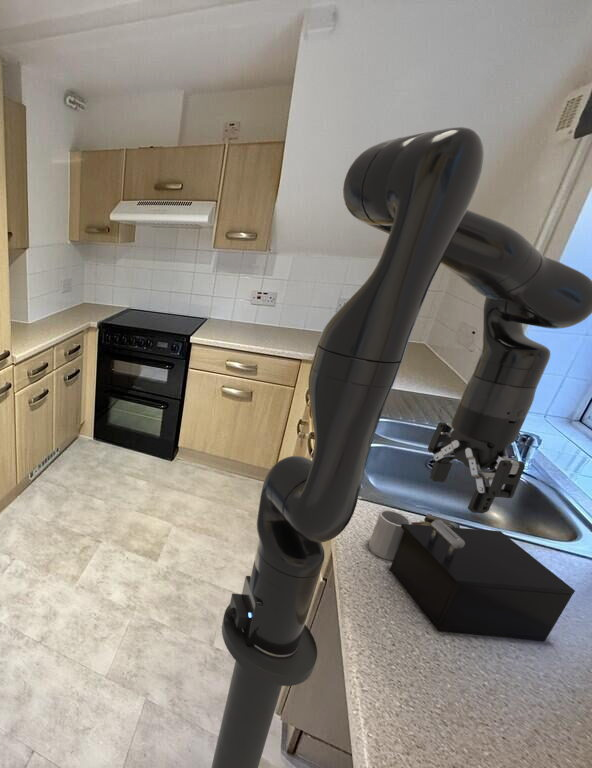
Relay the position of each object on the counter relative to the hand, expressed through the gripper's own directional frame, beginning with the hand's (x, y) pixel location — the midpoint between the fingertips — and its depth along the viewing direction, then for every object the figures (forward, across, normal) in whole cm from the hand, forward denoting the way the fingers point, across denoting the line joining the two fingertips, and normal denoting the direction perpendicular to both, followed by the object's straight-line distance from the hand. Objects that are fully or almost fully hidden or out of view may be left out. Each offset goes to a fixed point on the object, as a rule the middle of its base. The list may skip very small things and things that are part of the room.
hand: (455, 495), depth 69 cm
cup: (+22, -11, 0) cm, 24 cm away
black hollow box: (+22, +1, +7) cm, 23 cm away
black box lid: (+11, +1, +7) cm, 13 cm away
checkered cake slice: (+22, -16, +12) cm, 29 cm away
